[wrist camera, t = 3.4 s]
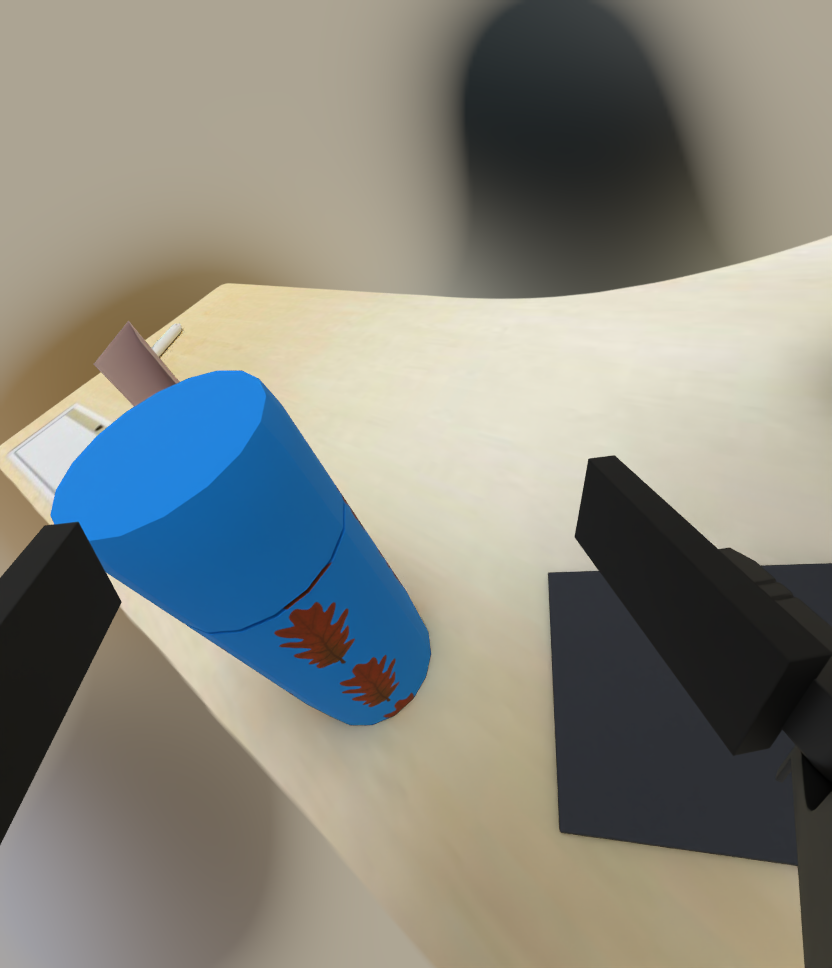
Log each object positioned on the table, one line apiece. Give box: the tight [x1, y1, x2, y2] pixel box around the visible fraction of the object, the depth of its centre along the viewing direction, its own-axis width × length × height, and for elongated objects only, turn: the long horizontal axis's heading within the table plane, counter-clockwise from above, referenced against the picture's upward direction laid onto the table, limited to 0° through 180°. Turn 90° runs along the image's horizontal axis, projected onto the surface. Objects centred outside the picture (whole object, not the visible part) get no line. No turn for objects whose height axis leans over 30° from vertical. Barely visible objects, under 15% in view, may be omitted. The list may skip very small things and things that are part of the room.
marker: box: [152, 323, 182, 357], centre depth 98 cm, size 18×2×2 cm, turn 170°
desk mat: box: [548, 563, 832, 866], centre depth 29 cm, size 17×20×1 cm
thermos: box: [50, 371, 431, 725], centre depth 30 cm, size 11×11×25 cm
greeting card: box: [94, 321, 179, 407], centre depth 70 cm, size 11×7×15 cm, turn 1°
